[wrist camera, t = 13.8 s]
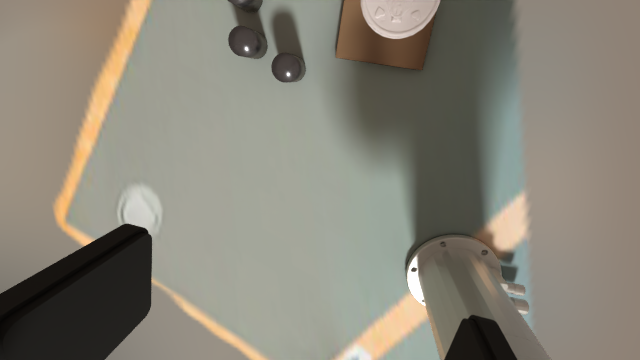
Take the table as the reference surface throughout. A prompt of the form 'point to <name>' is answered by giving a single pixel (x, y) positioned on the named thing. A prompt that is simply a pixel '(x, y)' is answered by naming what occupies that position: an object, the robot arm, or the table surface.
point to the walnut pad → (379, 41)
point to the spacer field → (263, 47)
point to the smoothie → (398, 16)
